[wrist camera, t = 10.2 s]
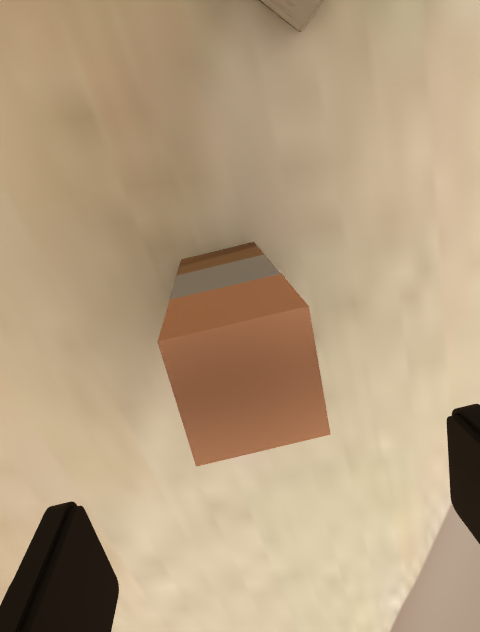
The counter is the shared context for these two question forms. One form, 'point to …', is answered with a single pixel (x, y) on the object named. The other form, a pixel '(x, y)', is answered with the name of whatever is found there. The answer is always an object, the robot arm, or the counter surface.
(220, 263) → the walnut block
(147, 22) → the counter surface
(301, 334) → the terracotta block
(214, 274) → the slate block
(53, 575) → the robot arm
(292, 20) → the skincare box
